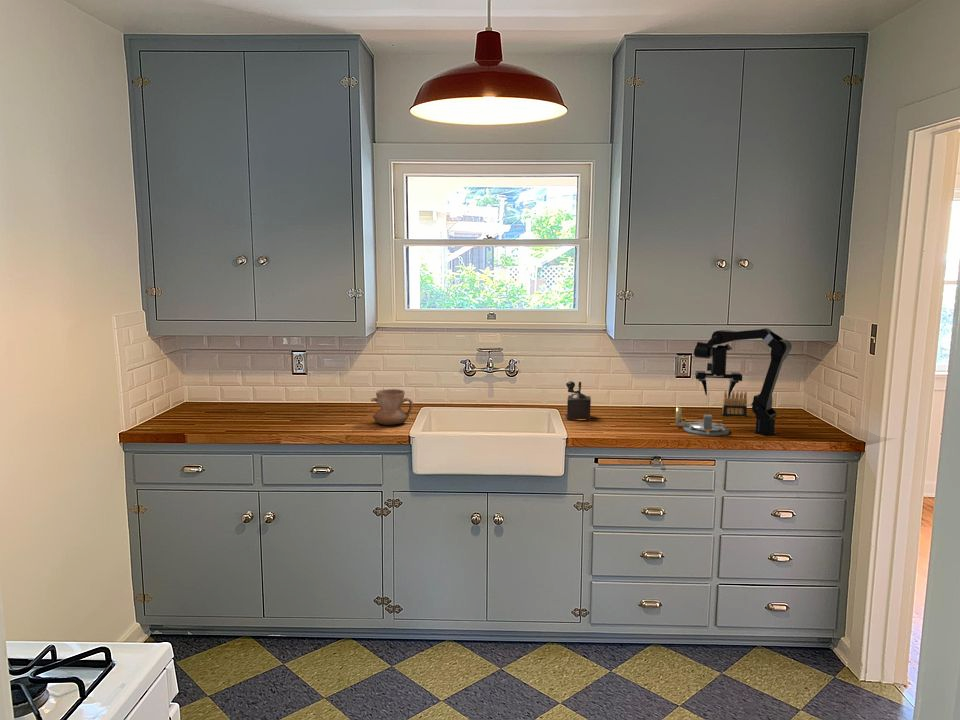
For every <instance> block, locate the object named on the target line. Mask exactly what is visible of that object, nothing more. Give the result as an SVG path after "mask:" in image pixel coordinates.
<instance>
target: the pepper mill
mask: <svg viewBox="0 0 960 720" xmlns="http://www.w3.org/2000/svg"><path fill="white" fill-rule="evenodd" d="M565 386H566V387H567V392H568V393H571V395H567V404H566V405H567V406H566V408H567V409H566V414H565V418H566V417H567V418H566V420H568V419H586V420H591V407H592V406H591V405H592V404H591V402H592V400H591V399H592V398H591V396H590V395H586V394H584V393H581V392H582V391H581V390H582V381H578V385H577V387H578V389H577V390H574V388H575V387H576V383H575V382H574V381H571V380H570V381H568V382H566V384H565Z"/></svg>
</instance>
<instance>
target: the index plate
mask: <svg viewBox="0 0 960 720" xmlns="http://www.w3.org/2000/svg"><path fill="white" fill-rule="evenodd" d="M723 428H725V431H716V432H705V431H699V430H695V429H689V426H683V431H684V432H685V433H688V434H692V435H694V436H695V435H696V436H700V437H701V436H703V437H721V436H720V435H724V436H727V435H729V434H730V429H729V428H727V427H725V426H723Z"/></svg>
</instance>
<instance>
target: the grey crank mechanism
mask: <svg viewBox="0 0 960 720" xmlns="http://www.w3.org/2000/svg"><path fill="white" fill-rule="evenodd" d="M682 410H683V408H682V407H680V406H679V407H675V422H674V423H675V426H681V427H682V426H683V427H684V426H689V429H695V430H699V431H705V432H716V431H725V428H726V427H725V428H723V427H724V423H718V422H713V421H712V429H704V427H703V420H702V421H700V420H699V421H688V422H687V421H682V417H683V416H682V415H683V413H682V412H683V411H682Z"/></svg>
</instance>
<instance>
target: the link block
mask: <svg viewBox="0 0 960 720" xmlns="http://www.w3.org/2000/svg"><path fill="white" fill-rule="evenodd" d="M702 421H703V427H704V429H712V422H713V415H712V414H711V413H703V420H702Z"/></svg>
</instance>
